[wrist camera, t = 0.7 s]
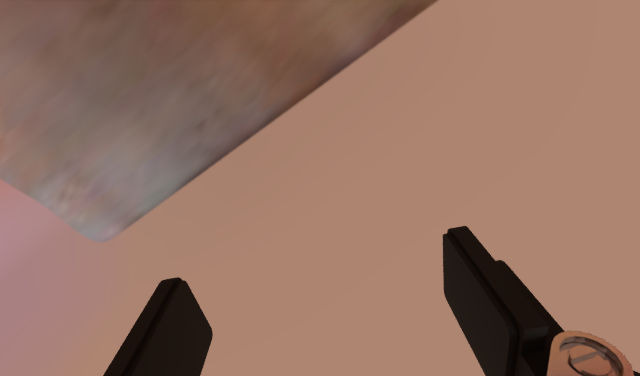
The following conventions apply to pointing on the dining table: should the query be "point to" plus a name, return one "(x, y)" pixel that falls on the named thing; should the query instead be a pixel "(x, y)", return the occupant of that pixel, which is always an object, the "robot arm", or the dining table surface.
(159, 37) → the dining table surface
